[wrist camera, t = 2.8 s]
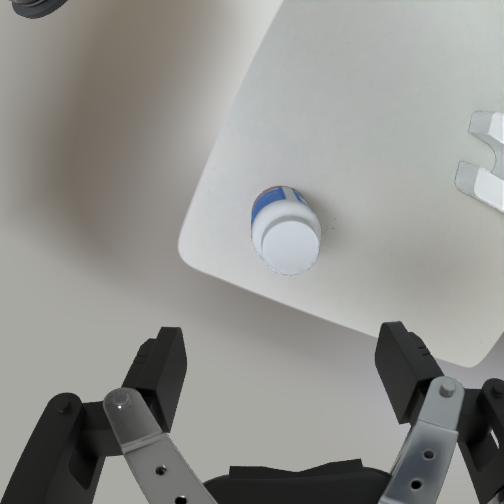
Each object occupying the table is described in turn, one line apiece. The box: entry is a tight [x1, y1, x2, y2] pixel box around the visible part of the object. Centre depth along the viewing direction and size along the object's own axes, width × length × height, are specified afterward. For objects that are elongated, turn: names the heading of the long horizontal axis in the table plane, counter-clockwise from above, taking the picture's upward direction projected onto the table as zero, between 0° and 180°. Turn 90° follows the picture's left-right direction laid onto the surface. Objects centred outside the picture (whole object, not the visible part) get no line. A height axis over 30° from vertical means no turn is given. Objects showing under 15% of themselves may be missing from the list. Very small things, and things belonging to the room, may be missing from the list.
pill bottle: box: [251, 186, 321, 275], centre depth 26 cm, size 6×5×10 cm
